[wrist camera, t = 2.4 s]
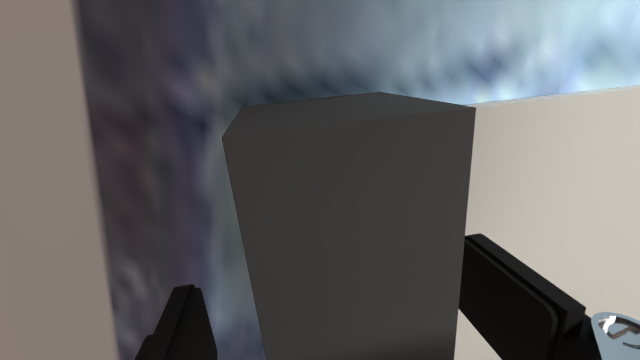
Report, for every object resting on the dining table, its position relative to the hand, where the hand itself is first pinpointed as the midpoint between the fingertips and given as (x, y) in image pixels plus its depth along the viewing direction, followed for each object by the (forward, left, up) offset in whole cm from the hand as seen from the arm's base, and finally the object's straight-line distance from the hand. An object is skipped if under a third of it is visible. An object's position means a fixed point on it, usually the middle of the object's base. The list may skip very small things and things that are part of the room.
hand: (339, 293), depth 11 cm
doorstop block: (-2, 0, -3) cm, 4 cm away
